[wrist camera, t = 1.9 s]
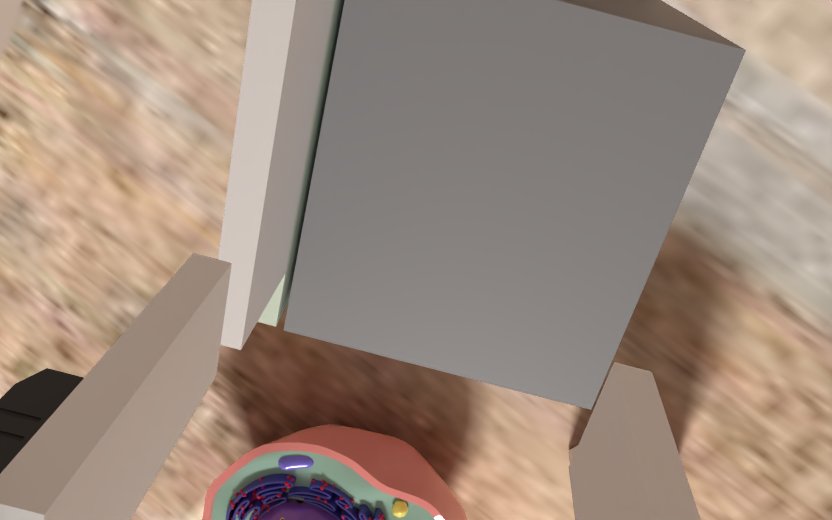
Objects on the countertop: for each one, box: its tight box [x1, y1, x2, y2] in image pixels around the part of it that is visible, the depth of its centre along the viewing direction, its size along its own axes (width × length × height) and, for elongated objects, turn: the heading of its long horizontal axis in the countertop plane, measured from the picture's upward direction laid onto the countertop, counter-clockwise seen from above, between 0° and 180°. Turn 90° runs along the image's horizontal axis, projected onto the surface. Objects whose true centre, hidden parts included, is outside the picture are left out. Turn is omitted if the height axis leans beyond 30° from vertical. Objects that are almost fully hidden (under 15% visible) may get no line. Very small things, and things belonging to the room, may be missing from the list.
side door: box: [218, 0, 345, 350], centre depth 33 cm, size 1×16×22 cm, turn 166°
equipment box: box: [283, 0, 746, 410], centre depth 36 cm, size 14×16×16 cm
